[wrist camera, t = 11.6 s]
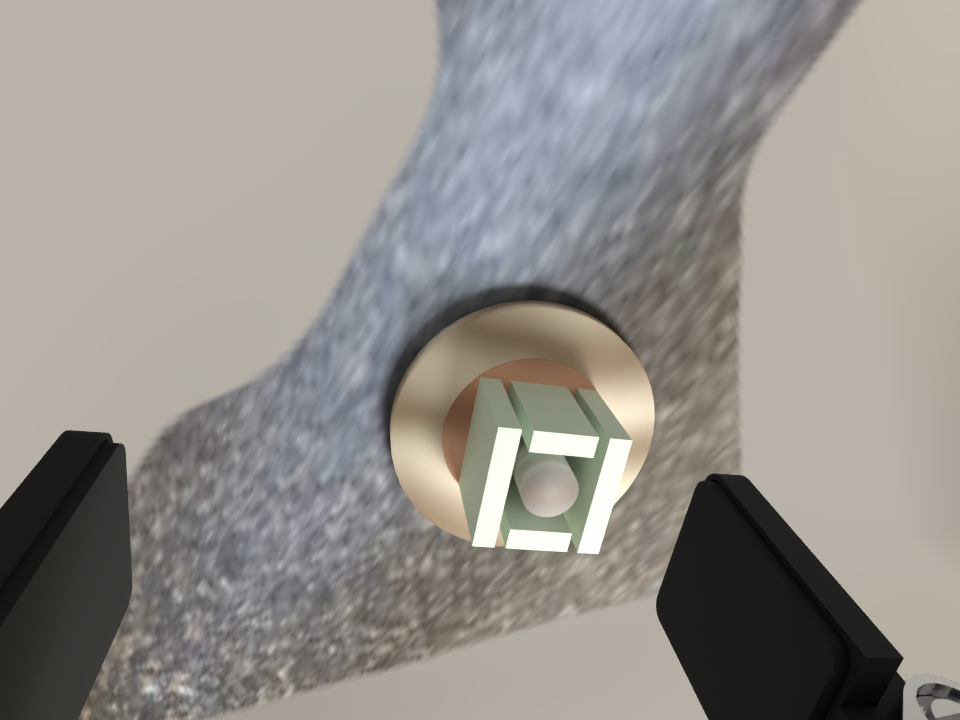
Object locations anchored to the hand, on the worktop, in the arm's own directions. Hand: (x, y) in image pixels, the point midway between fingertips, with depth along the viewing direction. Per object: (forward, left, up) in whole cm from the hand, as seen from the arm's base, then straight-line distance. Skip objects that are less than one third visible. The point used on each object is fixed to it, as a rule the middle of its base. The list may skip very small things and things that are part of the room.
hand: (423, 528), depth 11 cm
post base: (+11, +10, -27) cm, 31 cm away
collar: (+11, +10, -25) cm, 29 cm away
